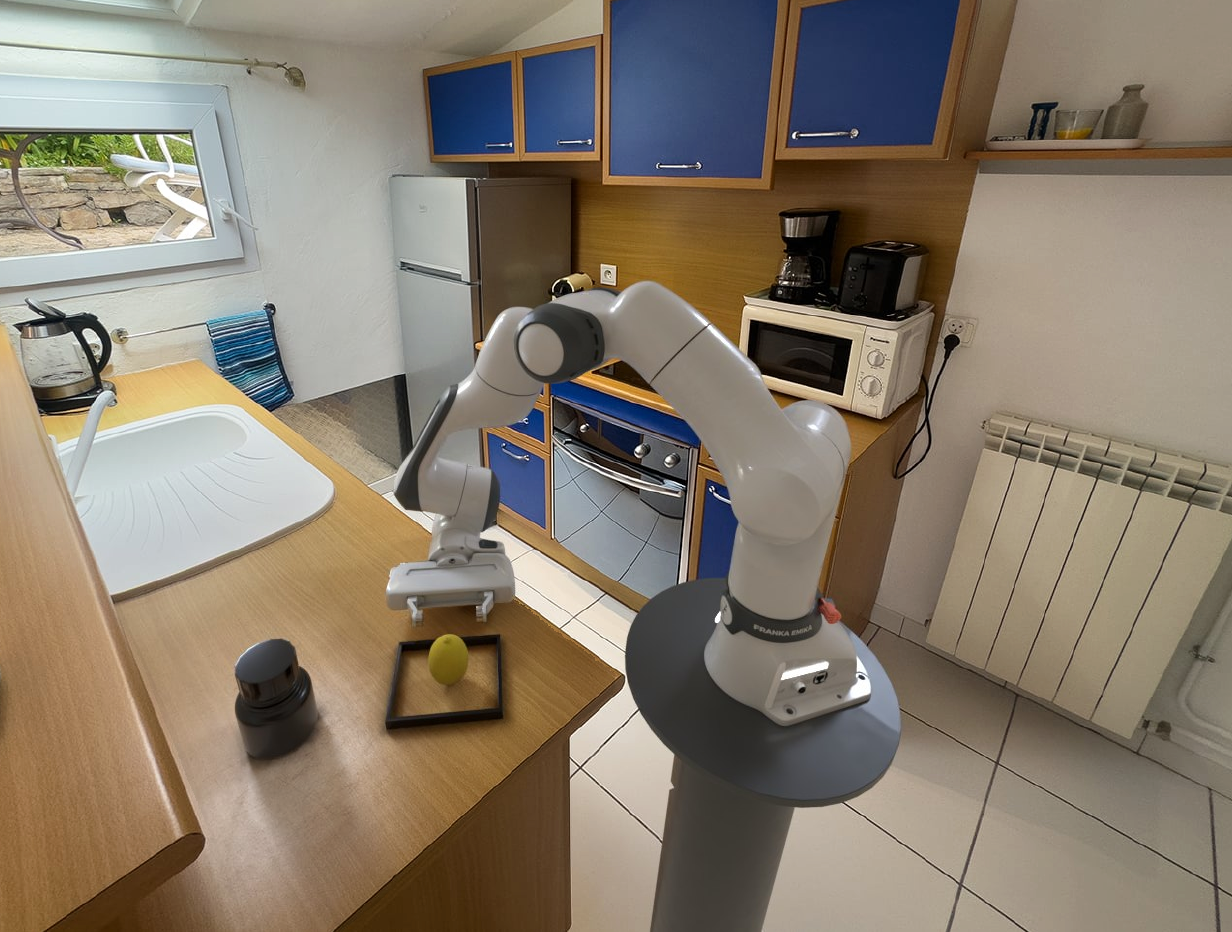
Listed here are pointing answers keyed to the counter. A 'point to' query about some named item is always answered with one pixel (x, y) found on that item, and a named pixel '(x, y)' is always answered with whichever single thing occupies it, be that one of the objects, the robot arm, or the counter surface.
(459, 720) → the black square frame
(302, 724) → the ink bottle
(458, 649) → the lemon
